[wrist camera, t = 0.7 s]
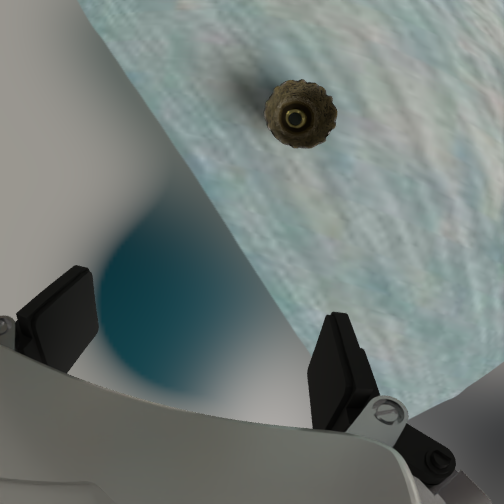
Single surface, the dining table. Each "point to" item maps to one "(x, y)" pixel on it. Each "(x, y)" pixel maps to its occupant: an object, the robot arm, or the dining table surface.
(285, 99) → the dark tapered rough piece
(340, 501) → the robot arm
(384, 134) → the dining table surface
